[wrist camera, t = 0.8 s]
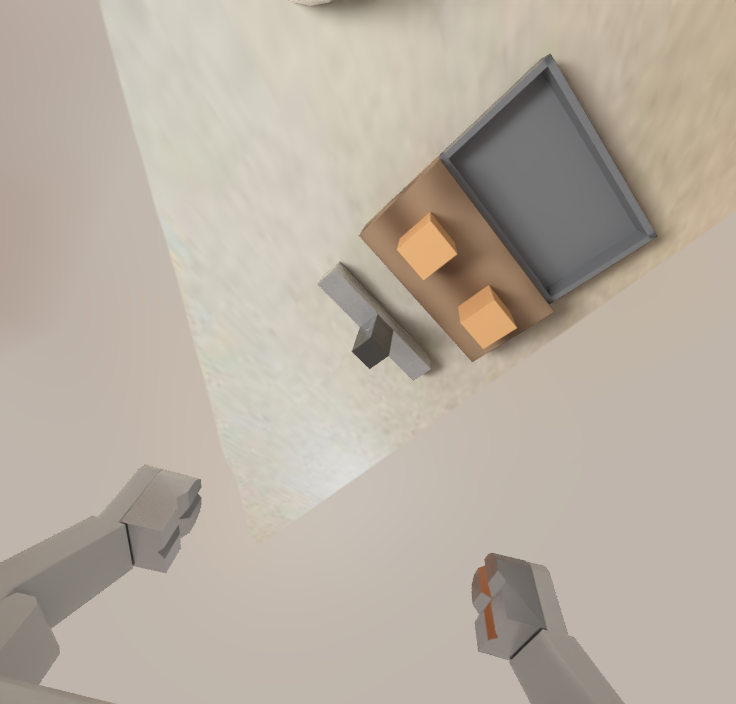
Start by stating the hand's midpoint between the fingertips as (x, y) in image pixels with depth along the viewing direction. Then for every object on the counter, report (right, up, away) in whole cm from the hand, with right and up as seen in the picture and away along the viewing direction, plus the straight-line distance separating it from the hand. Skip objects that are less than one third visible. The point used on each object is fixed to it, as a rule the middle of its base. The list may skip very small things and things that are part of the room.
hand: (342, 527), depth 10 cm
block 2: (+14, +10, +31) cm, 35 cm away
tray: (+19, +22, +29) cm, 41 cm away
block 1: (+7, +16, +28) cm, 33 cm away
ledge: (+11, +16, +34) cm, 39 cm away
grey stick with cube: (+2, +9, +40) cm, 41 cm away
